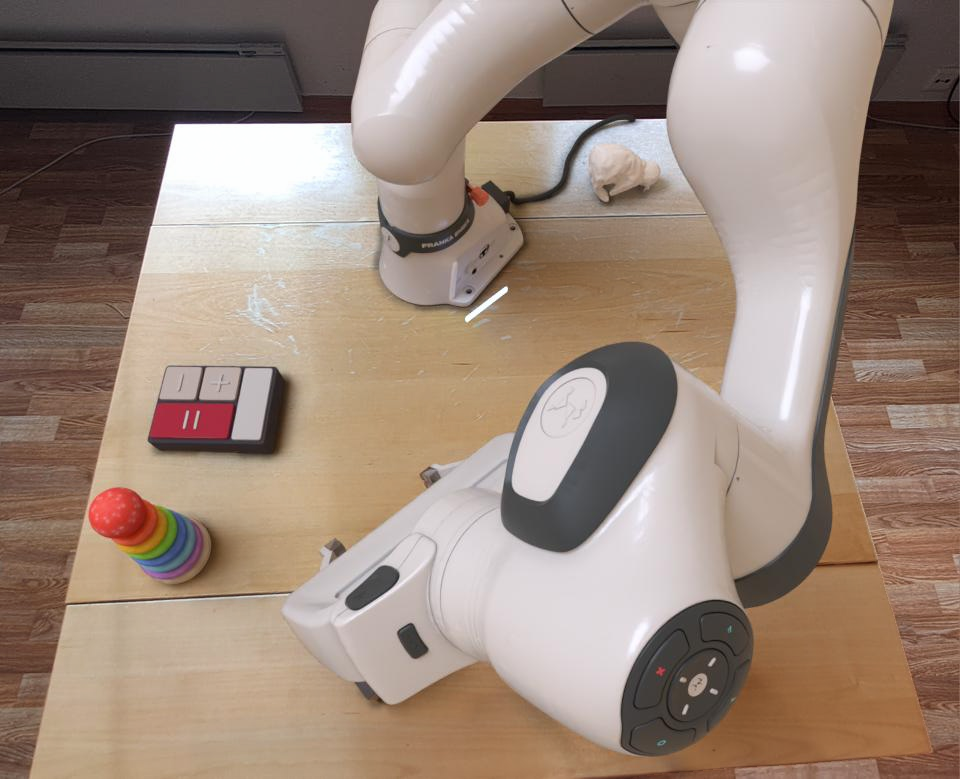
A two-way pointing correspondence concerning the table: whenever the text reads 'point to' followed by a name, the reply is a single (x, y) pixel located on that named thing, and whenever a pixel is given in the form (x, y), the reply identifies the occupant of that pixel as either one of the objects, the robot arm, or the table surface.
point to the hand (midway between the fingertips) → (382, 512)
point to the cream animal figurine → (619, 170)
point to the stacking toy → (151, 535)
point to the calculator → (217, 409)
